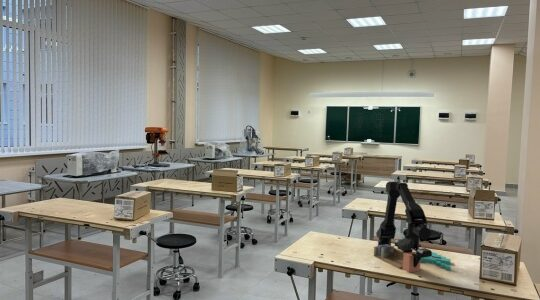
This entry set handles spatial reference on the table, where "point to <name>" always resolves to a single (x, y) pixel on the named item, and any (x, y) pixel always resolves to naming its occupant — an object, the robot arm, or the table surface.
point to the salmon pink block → (410, 262)
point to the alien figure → (438, 261)
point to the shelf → (389, 255)
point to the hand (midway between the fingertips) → (411, 265)
